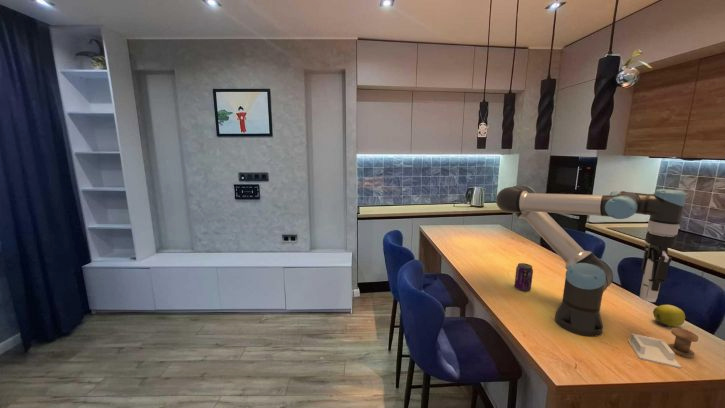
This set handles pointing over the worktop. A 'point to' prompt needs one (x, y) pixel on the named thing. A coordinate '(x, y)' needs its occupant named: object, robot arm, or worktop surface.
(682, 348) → the wooden cabinet knob
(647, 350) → the notch board
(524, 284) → the beverage can
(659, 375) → the worktop surface
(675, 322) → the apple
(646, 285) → the tube
